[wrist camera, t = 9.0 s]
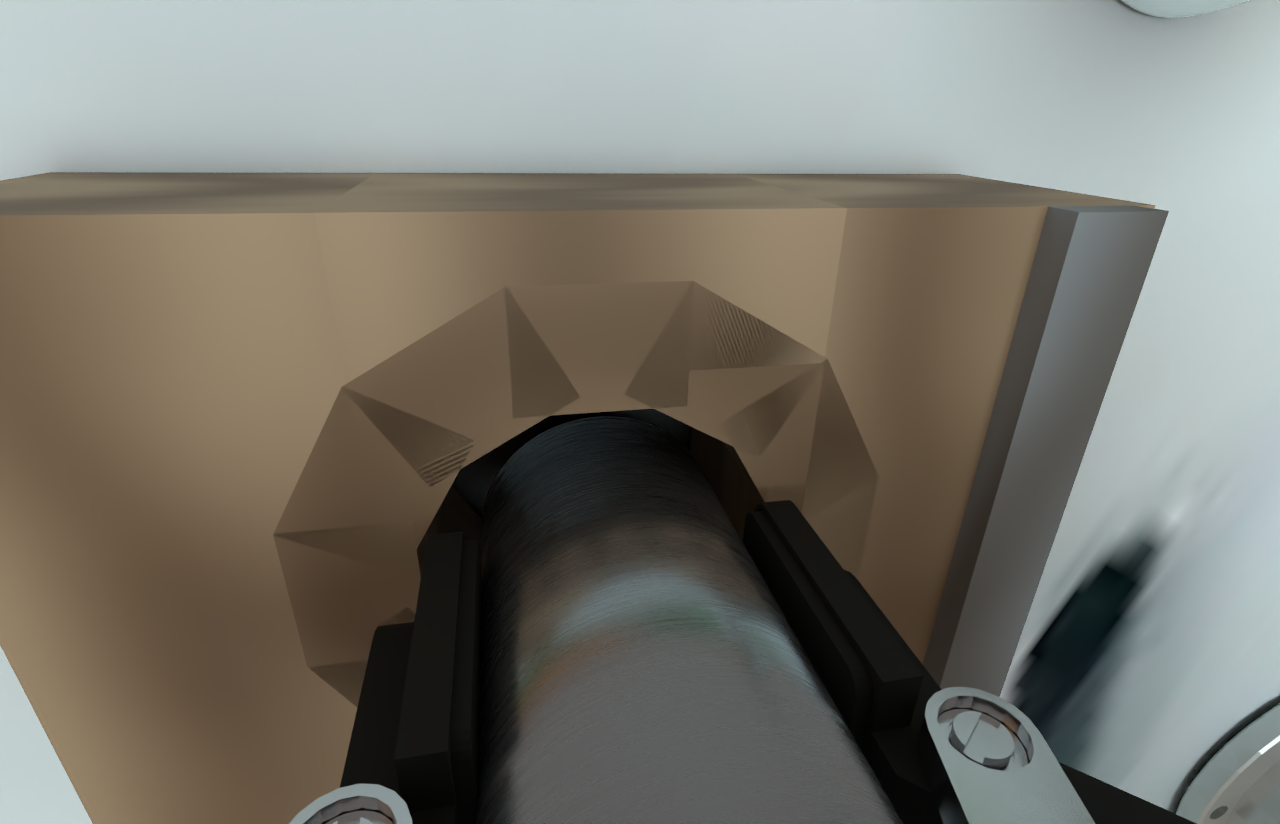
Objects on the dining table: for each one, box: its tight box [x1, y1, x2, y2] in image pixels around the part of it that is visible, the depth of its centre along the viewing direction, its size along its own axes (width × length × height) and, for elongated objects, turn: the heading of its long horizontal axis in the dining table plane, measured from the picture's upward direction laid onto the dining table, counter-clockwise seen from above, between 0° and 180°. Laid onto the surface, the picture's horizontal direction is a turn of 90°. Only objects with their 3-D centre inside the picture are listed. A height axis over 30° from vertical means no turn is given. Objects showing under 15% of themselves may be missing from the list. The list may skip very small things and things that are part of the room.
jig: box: [0, 173, 1169, 824], centre depth 13 cm, size 18×12×6 cm, turn 89°
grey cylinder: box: [476, 416, 903, 824], centre depth 9 cm, size 4×4×8 cm
